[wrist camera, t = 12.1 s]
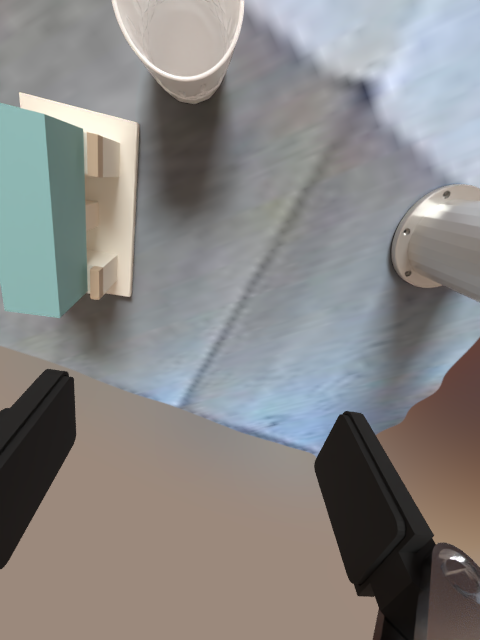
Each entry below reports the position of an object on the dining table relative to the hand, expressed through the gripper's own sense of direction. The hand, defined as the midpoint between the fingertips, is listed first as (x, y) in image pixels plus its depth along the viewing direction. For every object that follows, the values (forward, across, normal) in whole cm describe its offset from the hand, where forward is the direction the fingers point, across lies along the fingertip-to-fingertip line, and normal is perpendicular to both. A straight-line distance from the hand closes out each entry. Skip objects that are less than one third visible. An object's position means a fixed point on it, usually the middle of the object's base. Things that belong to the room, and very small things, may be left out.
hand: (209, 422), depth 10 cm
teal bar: (+20, +14, -1) cm, 25 cm away
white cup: (+27, +6, -16) cm, 32 cm away
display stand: (+26, +15, -1) cm, 30 cm away
